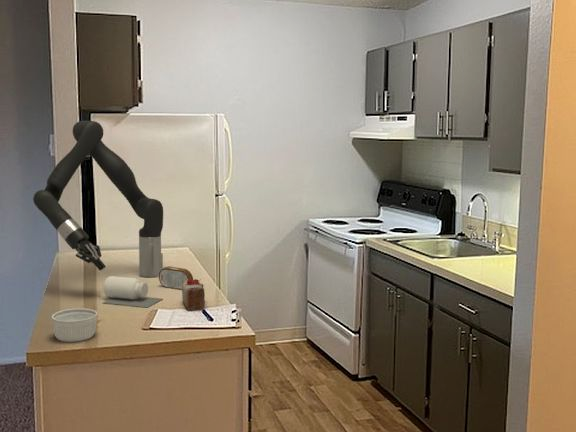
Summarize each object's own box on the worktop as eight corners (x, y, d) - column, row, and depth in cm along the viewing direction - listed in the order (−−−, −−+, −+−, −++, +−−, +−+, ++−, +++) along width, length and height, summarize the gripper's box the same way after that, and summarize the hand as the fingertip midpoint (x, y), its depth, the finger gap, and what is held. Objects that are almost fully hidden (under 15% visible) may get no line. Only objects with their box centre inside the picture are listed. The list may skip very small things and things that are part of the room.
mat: (102, 303, 228) (102, 302, 228) (119, 295, 240) (119, 294, 240) (147, 308, 224) (147, 307, 224) (162, 299, 235) (162, 298, 235)
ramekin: (71, 346, 184) (71, 323, 183) (42, 338, 190) (41, 315, 190) (107, 334, 195) (106, 312, 194) (78, 327, 202) (77, 305, 201)
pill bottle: (115, 274, 240) (150, 278, 235) (114, 295, 240) (149, 299, 235) (103, 276, 232) (139, 280, 228) (102, 298, 232) (138, 302, 228)
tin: (193, 289, 250) (193, 269, 249) (189, 291, 247) (189, 270, 246) (162, 285, 256) (162, 265, 255) (157, 287, 254) (157, 266, 252)
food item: (180, 301, 233) (180, 275, 232) (201, 300, 236) (201, 274, 234) (185, 311, 220) (185, 284, 219) (208, 310, 223) (208, 283, 221)
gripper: (68, 229, 228) (99, 265, 226) (89, 224, 240) (118, 258, 239) (56, 243, 230) (86, 279, 228) (77, 237, 242) (106, 271, 241)
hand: (102, 268), depth 233 cm, fingers closed
